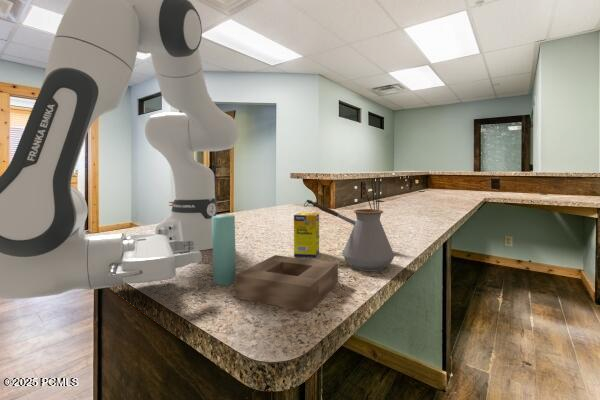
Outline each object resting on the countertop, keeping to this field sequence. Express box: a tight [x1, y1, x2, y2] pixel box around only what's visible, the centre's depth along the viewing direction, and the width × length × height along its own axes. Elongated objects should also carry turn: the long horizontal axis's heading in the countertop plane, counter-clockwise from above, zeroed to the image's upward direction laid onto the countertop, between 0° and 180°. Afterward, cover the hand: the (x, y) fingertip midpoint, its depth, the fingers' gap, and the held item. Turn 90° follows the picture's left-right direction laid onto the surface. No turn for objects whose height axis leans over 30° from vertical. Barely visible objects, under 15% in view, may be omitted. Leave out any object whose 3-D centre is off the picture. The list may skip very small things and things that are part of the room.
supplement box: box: [293, 211, 320, 259], centre depth 81 cm, size 6×6×11 cm
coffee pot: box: [303, 199, 395, 272], centre depth 72 cm, size 21×12×15 cm, turn 66°
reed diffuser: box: [361, 177, 381, 210], centre depth 85 cm, size 10×7×20 cm
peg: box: [212, 214, 237, 286], centre depth 61 cm, size 4×4×13 cm
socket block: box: [234, 254, 339, 313], centre depth 56 cm, size 14×14×4 cm
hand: (197, 250), depth 59 cm, fingers open, 8 cm apart
